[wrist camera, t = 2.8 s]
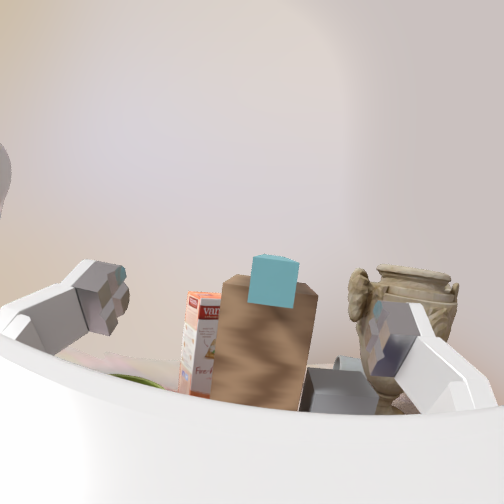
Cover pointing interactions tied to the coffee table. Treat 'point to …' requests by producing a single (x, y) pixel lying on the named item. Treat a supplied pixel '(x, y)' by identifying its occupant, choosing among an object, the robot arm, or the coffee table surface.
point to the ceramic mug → (348, 364)
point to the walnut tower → (261, 348)
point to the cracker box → (199, 343)
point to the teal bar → (273, 281)
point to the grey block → (338, 393)
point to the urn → (401, 290)
